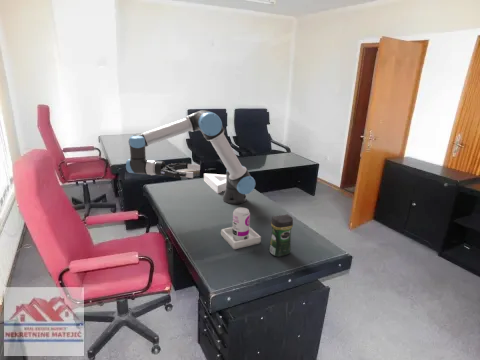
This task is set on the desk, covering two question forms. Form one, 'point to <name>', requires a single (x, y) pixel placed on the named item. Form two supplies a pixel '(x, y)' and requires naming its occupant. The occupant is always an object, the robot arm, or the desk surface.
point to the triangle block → (216, 182)
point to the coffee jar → (281, 235)
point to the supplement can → (241, 224)
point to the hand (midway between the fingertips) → (196, 171)
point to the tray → (252, 240)
